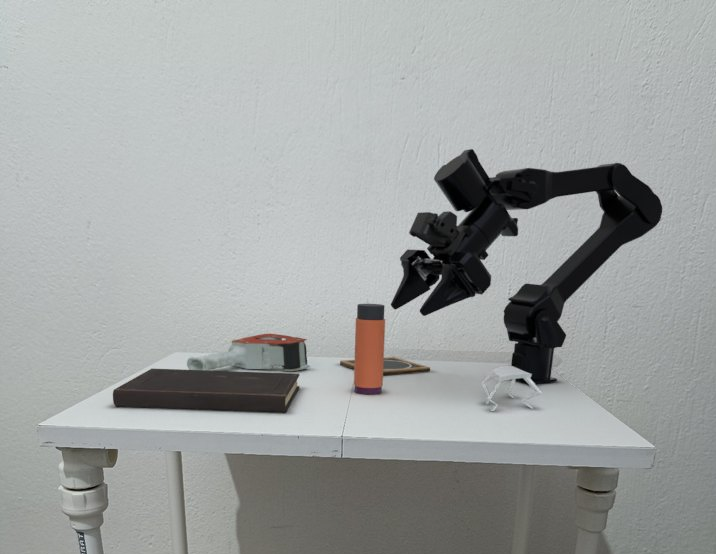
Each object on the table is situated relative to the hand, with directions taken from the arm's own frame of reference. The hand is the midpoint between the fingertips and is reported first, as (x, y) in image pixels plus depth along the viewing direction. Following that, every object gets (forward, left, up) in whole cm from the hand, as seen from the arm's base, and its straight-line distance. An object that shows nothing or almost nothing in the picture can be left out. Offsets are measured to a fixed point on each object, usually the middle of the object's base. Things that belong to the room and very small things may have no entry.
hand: (406, 310), depth 101 cm
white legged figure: (-9, +14, -12) cm, 21 cm away
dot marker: (+6, -1, -12) cm, 14 cm away
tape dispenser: (+15, -26, -12) cm, 32 cm away
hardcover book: (+29, -6, -12) cm, 32 cm away
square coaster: (-7, -17, -12) cm, 22 cm away
